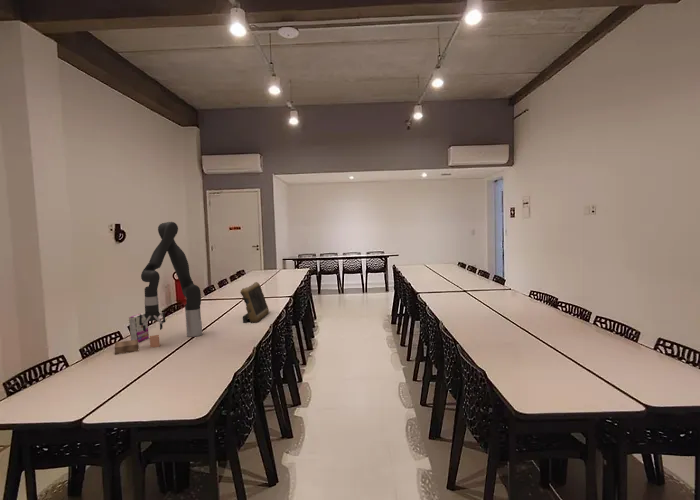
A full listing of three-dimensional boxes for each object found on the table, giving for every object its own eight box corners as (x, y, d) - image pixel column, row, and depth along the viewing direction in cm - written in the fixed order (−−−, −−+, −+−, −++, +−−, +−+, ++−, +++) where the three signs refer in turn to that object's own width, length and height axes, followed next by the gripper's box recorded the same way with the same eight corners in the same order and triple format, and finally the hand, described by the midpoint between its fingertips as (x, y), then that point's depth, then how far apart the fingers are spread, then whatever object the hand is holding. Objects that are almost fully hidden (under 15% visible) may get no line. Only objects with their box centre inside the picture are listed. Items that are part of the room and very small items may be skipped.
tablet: (260, 323, 317) (258, 288, 316) (241, 323, 318) (239, 288, 316) (269, 313, 350) (267, 281, 348) (251, 313, 350) (250, 282, 348)
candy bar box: (142, 338, 288) (140, 312, 287) (149, 338, 287) (147, 313, 286) (130, 343, 277) (128, 317, 276) (137, 343, 276) (135, 317, 275)
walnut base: (138, 345, 270) (137, 339, 269) (138, 351, 259) (138, 344, 259) (116, 349, 265) (115, 342, 264) (115, 354, 254) (114, 347, 253)
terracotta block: (159, 344, 272) (158, 334, 271) (159, 346, 267) (159, 336, 267) (150, 345, 269) (149, 336, 269) (150, 347, 265) (149, 337, 264)
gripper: (164, 301, 273) (165, 327, 274) (138, 303, 267) (139, 330, 268) (164, 303, 266) (166, 330, 267) (138, 306, 260) (139, 333, 261)
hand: (152, 330), depth 267 cm, fingers open, 8 cm apart
